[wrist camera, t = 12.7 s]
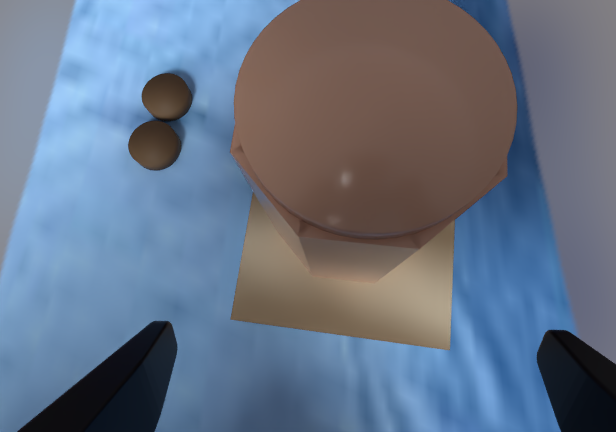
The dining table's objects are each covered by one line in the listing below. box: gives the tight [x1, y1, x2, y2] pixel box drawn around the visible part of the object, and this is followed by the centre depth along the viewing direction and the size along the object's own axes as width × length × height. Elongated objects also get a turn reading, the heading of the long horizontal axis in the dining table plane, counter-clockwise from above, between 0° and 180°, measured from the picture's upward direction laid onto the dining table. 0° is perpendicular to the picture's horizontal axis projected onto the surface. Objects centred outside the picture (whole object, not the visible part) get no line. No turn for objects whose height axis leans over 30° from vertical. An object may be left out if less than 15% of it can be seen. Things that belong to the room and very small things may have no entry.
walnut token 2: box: [128, 121, 181, 170], centre depth 21 cm, size 3×3×1 cm
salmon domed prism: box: [230, 0, 517, 283], centre depth 14 cm, size 7×7×10 cm
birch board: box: [231, 192, 455, 350], centre depth 19 cm, size 12×10×1 cm
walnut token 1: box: [142, 73, 192, 121], centre depth 22 cm, size 3×3×1 cm
